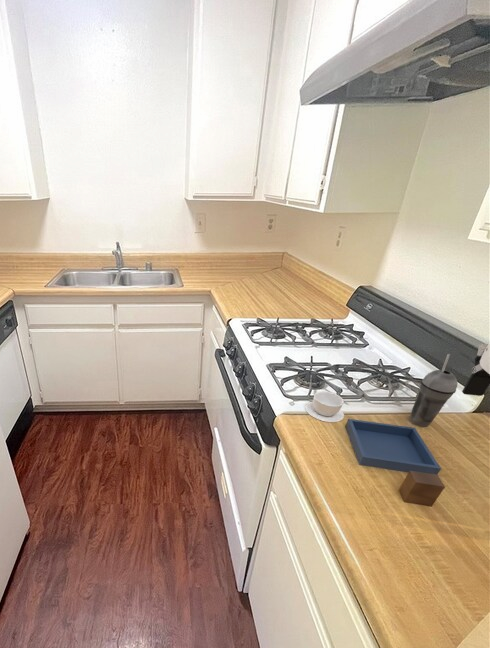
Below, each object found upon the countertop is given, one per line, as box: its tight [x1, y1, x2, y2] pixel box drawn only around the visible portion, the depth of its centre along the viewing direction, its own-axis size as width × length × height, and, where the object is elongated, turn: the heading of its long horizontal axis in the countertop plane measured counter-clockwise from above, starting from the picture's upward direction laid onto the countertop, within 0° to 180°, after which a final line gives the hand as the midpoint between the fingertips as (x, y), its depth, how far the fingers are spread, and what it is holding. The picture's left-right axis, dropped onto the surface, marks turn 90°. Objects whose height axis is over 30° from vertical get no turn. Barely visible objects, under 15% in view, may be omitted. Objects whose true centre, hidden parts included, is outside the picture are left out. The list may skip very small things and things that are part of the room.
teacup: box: [304, 390, 345, 423], centre depth 93 cm, size 10×10×5 cm
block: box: [398, 471, 446, 508], centre depth 68 cm, size 5×3×6 cm, turn 78°
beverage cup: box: [408, 353, 458, 428], centre depth 86 cm, size 7×7×20 cm
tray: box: [344, 418, 442, 475], centre depth 81 cm, size 16×15×3 cm
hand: (486, 409), depth 60 cm, fingers open, 9 cm apart
